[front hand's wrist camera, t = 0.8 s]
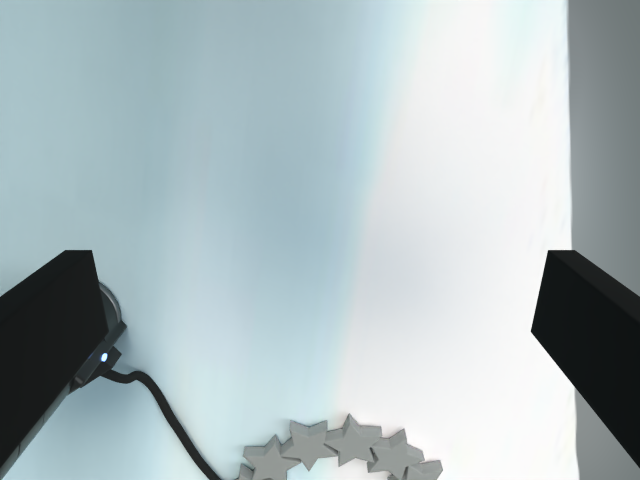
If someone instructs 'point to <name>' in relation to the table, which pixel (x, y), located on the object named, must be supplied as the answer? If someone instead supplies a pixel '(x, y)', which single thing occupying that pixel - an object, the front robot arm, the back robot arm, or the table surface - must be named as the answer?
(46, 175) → the table surface
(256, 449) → the decorative wreath
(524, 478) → the table surface
